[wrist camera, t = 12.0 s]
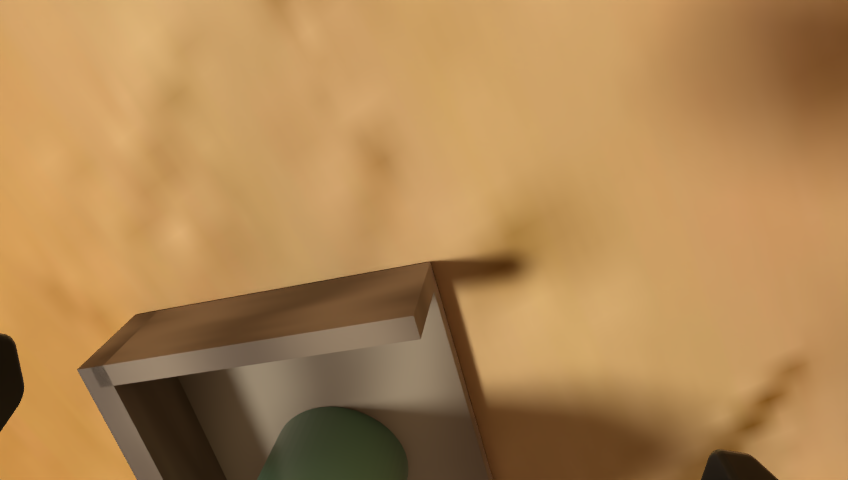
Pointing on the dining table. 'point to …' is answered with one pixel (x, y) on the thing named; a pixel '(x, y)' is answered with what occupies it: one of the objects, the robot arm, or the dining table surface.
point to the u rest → (287, 377)
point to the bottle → (335, 448)
